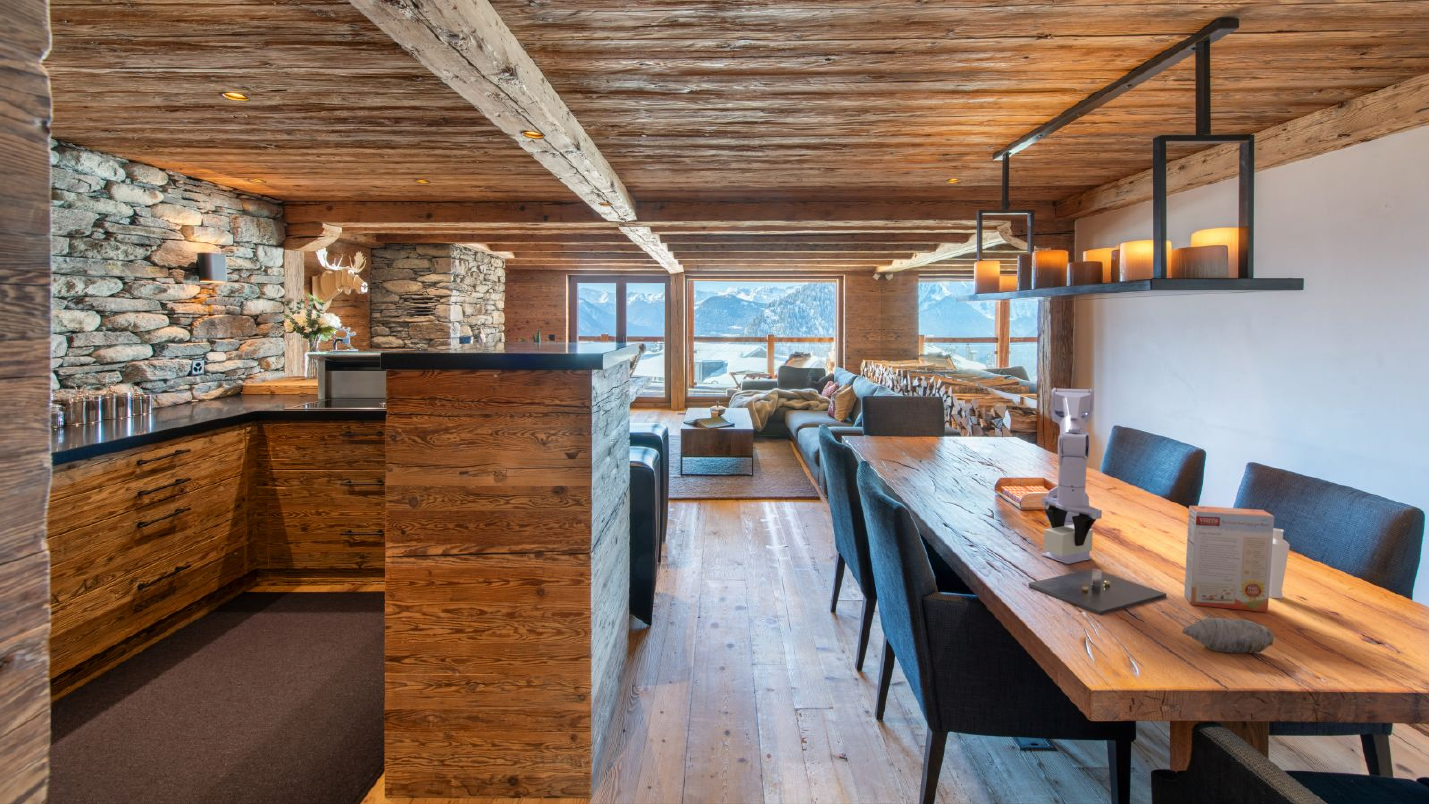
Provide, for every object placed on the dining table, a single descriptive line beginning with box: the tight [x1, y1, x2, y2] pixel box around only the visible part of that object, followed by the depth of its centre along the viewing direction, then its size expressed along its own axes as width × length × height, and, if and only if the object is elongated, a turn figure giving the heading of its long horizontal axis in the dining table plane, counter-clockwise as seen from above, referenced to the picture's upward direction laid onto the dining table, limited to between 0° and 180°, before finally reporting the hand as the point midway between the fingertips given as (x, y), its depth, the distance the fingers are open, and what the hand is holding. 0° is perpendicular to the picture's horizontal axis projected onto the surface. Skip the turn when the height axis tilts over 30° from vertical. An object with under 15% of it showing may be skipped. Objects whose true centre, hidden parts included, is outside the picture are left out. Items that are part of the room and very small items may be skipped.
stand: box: [1028, 568, 1167, 616], centre depth 160 cm, size 22×18×5 cm
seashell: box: [1181, 616, 1275, 654], centre depth 131 cm, size 6×14×8 cm, turn 75°
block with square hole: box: [1042, 524, 1094, 556], centre depth 166 cm, size 10×5×5 cm, turn 115°
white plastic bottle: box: [1269, 527, 1291, 599], centre depth 157 cm, size 5×4×15 cm
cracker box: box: [1183, 505, 1275, 613], centre depth 152 cm, size 14×6×21 cm, turn 71°
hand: (1068, 542), depth 166 cm, fingers closed on block with square hole, 5 cm apart
